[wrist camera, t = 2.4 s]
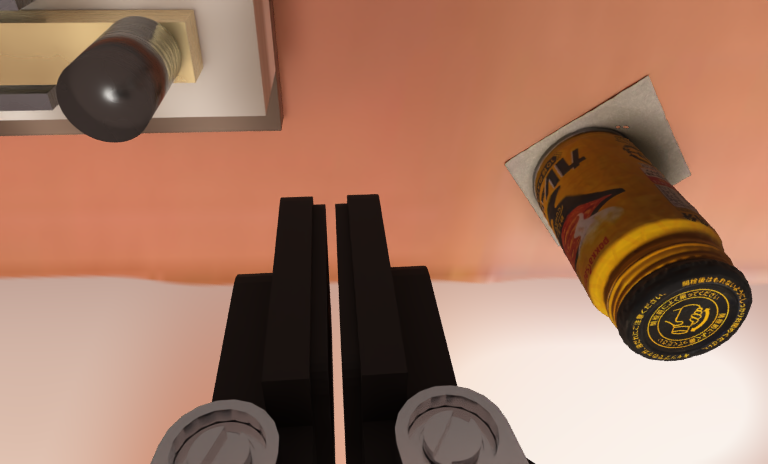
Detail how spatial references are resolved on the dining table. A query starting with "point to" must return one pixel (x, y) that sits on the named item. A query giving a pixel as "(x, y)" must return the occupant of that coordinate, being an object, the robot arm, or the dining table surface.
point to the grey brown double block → (215, 83)
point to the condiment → (635, 228)
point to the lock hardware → (25, 94)
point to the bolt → (102, 62)
